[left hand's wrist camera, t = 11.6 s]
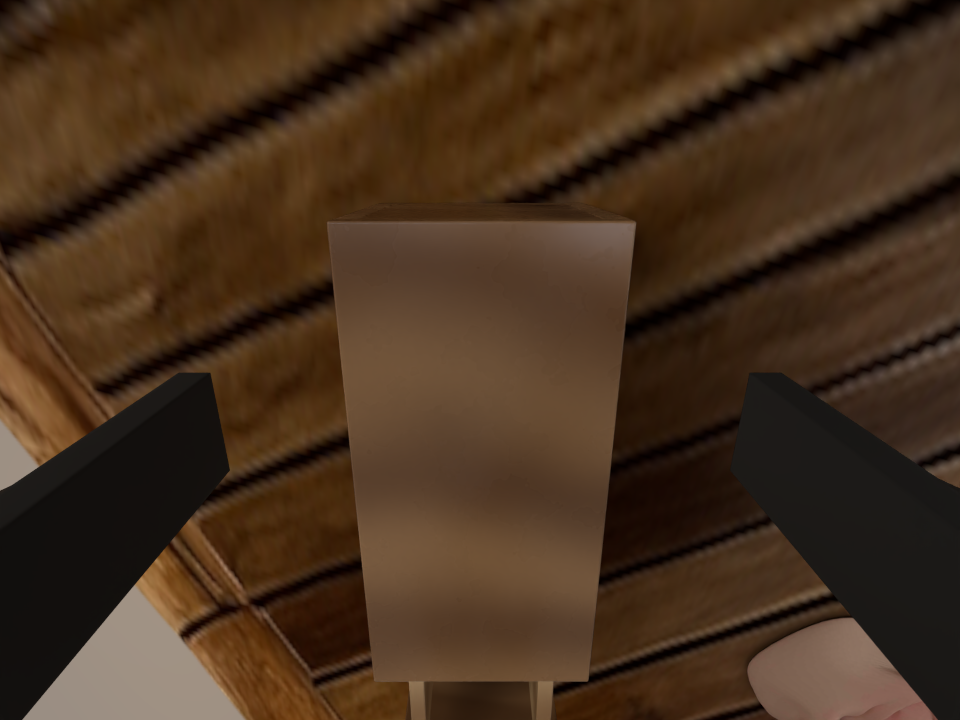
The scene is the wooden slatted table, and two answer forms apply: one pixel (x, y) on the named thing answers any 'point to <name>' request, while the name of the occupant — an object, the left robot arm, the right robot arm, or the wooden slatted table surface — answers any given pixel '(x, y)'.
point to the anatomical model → (832, 677)
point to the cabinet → (481, 428)
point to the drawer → (481, 700)
